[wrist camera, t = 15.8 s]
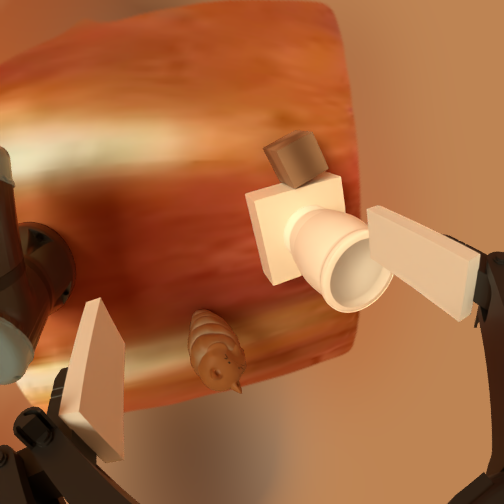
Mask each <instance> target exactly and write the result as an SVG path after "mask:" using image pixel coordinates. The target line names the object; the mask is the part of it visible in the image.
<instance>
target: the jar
mask: <svg viewBox="0 0 504 504" xmlns="http://www.w3.org/2000/svg"><path fill="white" fill-rule="evenodd" d="M284 243H285V246H286V248H287V250H288V251H289V252H290V253H291V254H292V257H293V259H294V261H295V263H296V265H297V267H298V269H299V271H300V272H301V274H302V276H303V277H304V278H305V280H306V281H307V282H308V283H309V284H310V285H311V286H312V287H313V288H314V289H315V290H316V291H318V292H319V293H320V294H322V296H323V298H324V300H325V301H326V302H327V304H328V305H330V306H331V307H332V308H333V309H335V310H337V311H340V312H344V313H351V312H356V311H360V310H362V309H364V308H366V307H368V306H370V305H371V304H372V303H374V302H375V301H376V300H377V299H378V298H379V297H380V296H381V295H382V294H383V293H384V292H385V290H386V289H387V287H388V286H389V284H390V282H391V280H392V278H393V275H394V274H393V273H391V272H390V271H389V270H387V269H386V268H384V267H383V266H381V265H380V264H378V263H377V262H376V261H374V260H373V259H371V258H370V247H369V232H368V225H367V224H366V223H365V222H363V221H362V220H360V219H359V218H357V217H355V216H353V215H350V214H347V213H344V212H339V211H335V210H331V209H325V208H323V207H321V206H318V205H308V206H304V207H302V208H300V209H298V210H297V211H296V212H294V213H293V214H292V216H291V217H290V218H289V220H288V221H287V223H286V226H285V229H284Z"/></svg>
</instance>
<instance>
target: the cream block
mask: <svg viewBox="0 0 504 504" xmlns="http://www.w3.org/2000/svg"><path fill="white" fill-rule="evenodd" d="M245 197H246V201H247V205H248V209H249V213H250V218H251V222H252V226H253V230H254V234H255V238H256V243H257V247H258V251H259V255H260V259H261V264H262V268H263V272H264V274H265V275H266V276H267V278H268V279H269V280H270V282H271V283H272V285H273V286H274V285H277V284H280V283H283V282H286V281H288V280H291V279H294V278H297V277H299V276H302V274H301V272H300V271H299V269H298V267H297V265H296V263H295V261H294V259H293V257H292V254H291V253H290V252H289V251H288V250H287V248H286V246H285V243H284V229H285V226H286V223H287V221H288V220H289V218H290V217H291V216H292V214H293V213H294V212H296V211H297V210H298V209H300V208H302V207H304V206H308V205H318V206H321V207H323V208H325V209H331V210H335V211H339V212H344V213H346V212H345V203H344V196H343V188H342V181H341V176H338V175H335V174H332V173H329V172H326V171H325V172H322V173H321V174H319V175H317V176H316V177H314V178H312V179H311V180H309V181H307V182H305V183H304V184H302V185H300V186H299V187H297V188H295V189H294V188H292V187H290V186H288V185H286V184H284V183H280V184H277V185H273V186H270V187H266V188H263V189H259V190H256V191H253V192H249V193H246V194H245Z"/></svg>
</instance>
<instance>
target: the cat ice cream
mask: <svg viewBox="0 0 504 504" xmlns="http://www.w3.org/2000/svg"><path fill="white" fill-rule="evenodd" d="M188 351H189V355H190V361H191V365H192V367H193V369H194V371H195V372H196V374H197V375H198V376H200V378H201V380H202V381H203V383H204V384H205V385H206V386H207V387H208V388H210V389H211V390H214V391H227V390H229V389H232V390H234V391H236V392H238V393H242V389H241V385H240V383H239V379H240V377H241V375H242V374H243V372H244V371H245V369H246V361H245V354H244V350H243V349H242V348H241V347H240V343H239V341H238V338H237V336H236V335H235V333H234V332H233V331H232V328H231V327H230V326H229V325H228V324H227V323H226V322H225V320H224V319H223V318H222V317H220V316H218V315H217V314H214V313H212V312H211V311H209V310H207V309H201V310H197V311H195V312H194V313H193V316H192V320H191V323H190V332H189V337H188Z"/></svg>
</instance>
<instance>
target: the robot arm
mask: <svg viewBox="0 0 504 504" xmlns="http://www.w3.org/2000/svg"><path fill="white" fill-rule="evenodd" d="M14 187H15V183H14V181H13V179H12V171H11V162H10V156H9V154H8V152H7V151H6V150H5V149H4V148H3V147H1V146H0V385H7V384H11V383H14V382H16V381H18V380H19V379H21V377H23V375H24V374H25V372H26V370H27V368H28V365H29V364H30V362H32V360H33V358H34V352H35V349H36V346H37V344H38V341H39V338H40V336H41V333H42V331H43V328H44V326H45V324H46V321H47V319H48V316H49V315H51V314H52V313H54V312H55V311H56V310H58V309H59V308H61V307H62V306H63V305H64V303H65V302H66V301H67V299H68V298H69V296H70V294H71V291H72V289H73V286H74V283H75V277H76V269H75V263H74V259H73V256H72V253H71V251H70V249H69V247H68V246H67V244H66V243H65V241H64V240H63V239H62V238H61V237H60V236H59V235H58V234H57V233H56V232H55V231H53V230H52V229H50V228H49V227H47V226H45V225H42V224H39V223H34V222H24V223H20V224H18V221H17V214H16V207H15V199H14V190H13V188H14ZM367 219H368V232H369V247H370V258H371V259H373V260H374V261H376V262H377V263H378V264H380V265H381V266H383V267H384V268H386V269H387V270H389V271H390V272H391V273H393V274H394V275H396V276H397V277H399V278H400V279H401V280H403V281H404V282H406V283H407V284H408V285H410V286H411V287H413V288H414V289H415V290H417V291H418V292H419V293H421V294H423V295H424V296H425V297H427V298H428V299H429V300H430V301H432V302H433V303H435V304H436V305H437V306H438V307H440V308H441V309H443V310H444V311H445V312H447V313H448V314H449V315H451V316H452V317H453V318H454V319H456V320H457V321H458V322H460V321H461V320H463V319H464V318H466V317H467V316H468V315H470V314H471V309H472V305H473V301H474V302H475V303H477V304H478V305H479V306H478V311H477V316H476V320H475V325H474V327H475V328H476V327H477V324H478V322H480V328H481V333H482V339H483V345H484V350H485V358H486V364H487V373H488V381H489V390H490V403H491V419H492V455H491V459H490V462H489V465H488V468H487V472H486V474H485V473H482V474H481V475H480V476H479V477H477V478H476V479H475V480H474V481H473V482H472V483H470V484H469V485H468V486H467V487H465V488H464V489H463V490H462V491H460V492H459V493H458V494H456V495H455V496H454V497H453V498H452V499H451V500H450V502H449V503H448V504H504V252H492V253H490V254H489V255H486V254H484V253H482V252H481V251H479V250H477V249H475V248H473V247H471V246H469V245H467V244H466V245H465V243H463V242H461V241H458V240H457V239H455V238H453V237H451V236H448V235H444V234H440V233H438V232H436V231H434V230H432V229H430V228H427V227H426V226H423V225H421V224H419V223H417V222H415V221H413V220H411V219H408V218H406V217H404V216H402V215H399V214H397V213H395V212H393V211H391V210H388V209H386V208H384V207H382V206H379V205H378V206H375V207H371V208H368V209H367ZM124 363H125V343H124V341H123V339H122V337H121V335H120V334H119V332H118V330H117V328H116V326H115V324H114V322H113V321H112V319H111V317H110V315H109V313H108V311H107V309H106V307H105V305H104V303H103V301H102V299H101V297H100V298H97V299H94V300H91V301H88V302H86V304H85V308H84V311H83V314H82V318H81V321H80V325H79V328H78V332H77V336H76V339H75V343H74V347H73V351H72V355H71V359H70V363H69V367H67V368H63V369H61V370H60V372H59V373H58V375H57V377H56V378H55V381H54V385H53V391H52V393H51V399H50V402H49V406H48V411H47V415H46V414H45V412H44V411H43V410H42V409H40V408H39V407H30V408H27V409H26V410H24V411H23V412H21V414H20V415H19V416H18V417H17V419H16V420H15V423H14V427H13V431H14V435H15V436H16V437H17V438H18V439H19V440H20V441H22V442H23V443H24V444H25V445H26V446H27V447H26V448H24V449H22V450H20V451H18V452H15V451H14V450H13V449H12V448H11V447H9V446H8V445H1V446H0V504H66V502H65V500H64V498H65V499H66V501H67V502H68V503H69V504H140V503H138V502H137V501H136V500H135V499H134V498H133V497H131V496H130V495H129V494H128V493H127V492H126V491H124V490H123V489H122V488H121V487H120V486H119V485H118V484H117V483H116V482H115V481H114V480H112V479H111V478H110V477H109V476H108V475H107V474H106V473H105V472H104V471H103V470H102V469H101V468H100V467H99V466H98V465H97V464H96V455H97V456H98V457H99V458H101V459H102V460H103V461H104V462H105V463H109V462H115V461H121V460H124V433H123V397H124ZM63 497H64V498H63Z"/></svg>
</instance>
